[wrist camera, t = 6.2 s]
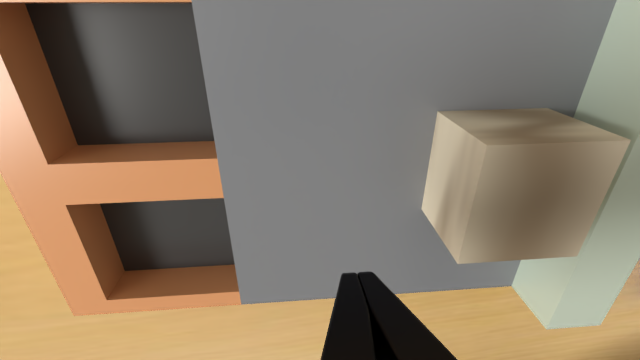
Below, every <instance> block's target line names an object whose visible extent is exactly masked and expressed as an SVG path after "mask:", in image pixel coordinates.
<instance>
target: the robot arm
mask: <svg viewBox="0 0 640 360" xmlns="http://www.w3.org/2000/svg"><path fill="white" fill-rule="evenodd" d="M321 360H457V359H456V358H455V357H454V356H453V355H452V354H451V353H450V351H449V350H448V349H447V348H446V347H445V346H444V345H443V344H442V343H441V342H440V341H439V340H438V339H437V338H436V337H435V336H434V335H433V334H432V333H431V332H430V331H429V330H428V329H427V328H426V327H425V325H424V324H423V323H422V322H421V321H420V320H419V319H418V318H417V317H416V316H415V315H414V314H413V313H412V312H411V311H410V310H409V309H408V308H407V307H406V306H405V305H404V304H403V303H402V302H401V300H400V299H399V298H398V297H397V296H396V295H395V294H394V293H393V292H392V291H391V290H390V289H389V288H388V287H387V286H386V285H385V284H384V283H383V282H382V281H381V280H380V279H379V278H378V277H377V276H376V274H375V273H373V272H371V271H366V272H359V273H355V272H351V273H342V275H341V278H340V282H339V286H338V290H337V294H336V299H335V303H334V307H333V311H332V315H331V319H330V323H329V328H328V332H327V336H326V340H325V344H324V348H323V352H322V356H321Z"/></svg>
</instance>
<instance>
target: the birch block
mask: <svg viewBox="0 0 640 360" xmlns="http://www.w3.org/2000/svg"><path fill="white" fill-rule="evenodd" d="M630 141H631V140H630V139H627V138H624V137H622V136H619V135H617V134H614V133H611V132H609V131H606V130H603V129H601V128H598V127H596V126H593V125H590V124H588V123H585V122H583V121H580V120H577V119H575V118H572V117H569V116H567V115H564V114H562V113H559V112H556V111H554V110H551V109H549V108H531V109H498V110H465V111H437V117H436V123H435V130H434V136H433V142H432V148H431V154H430V160H429V166H428V172H427V178H426V184H425V190H424V197H423V203H422V211H423V212H424V214H425V215H426V217H427V218H428V220H429V221H430V223H431V224H432V226H433V227H434V229H435V230H436V232H437V233H438V235H439V236H440V238H441V239H442V241H443V243H444V244H445V246H446V247H447V249H448V250H449V252H450V253H451V255H452V256H453V258H454V259H455V261H456V262H457V264H467V263H482V262H498V261H513V260H529V259H544V258H560V257H575V256H577V255H578V253H579V251H580V249H581V247H582V245H583V243H584V240H585V238H586V236H587V234H588V232H589V230H590V227H591V225H592V223H593V221H594V219H595V217H596V215H597V212H598V210H599V208H600V206H601V204H602V202H603V200H604V197H605V195H606V193H607V191H608V189H609V187H610V184H611V182H612V180H613V178H614V176H615V174H616V172H617V169H618V167H619V165H620V163H621V161H622V159H623V157H624V154H625V152H626V150H627V148H628V146H629V144H630Z"/></svg>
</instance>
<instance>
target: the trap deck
mask: <svg viewBox="0 0 640 360" xmlns="http://www.w3.org/2000/svg"><path fill="white" fill-rule="evenodd" d="M531 108H549V109H551V110H554V111H556V112H559V113H562V114H564V115H567V116H569V117H572V118H575V119H577V120H580V121H583V122H585V123H588V124H590V125H593V126H596V127H598V128H601V129H603V130H606V131H609V132H611V133H614V134H617V135H619V136H622V137H624V138H627V139H630V140H631V141H630V144H629V146H628V148H627V150H626V152H625V154H624V157H623V159H622V161H621V163H620V165H619V167H618V169H617V172H616V174H615V176H614V178H613V180H612V182H611V184H610V187H609V189H608V191H607V193H606V195H605V197H604V200H603V202H602V204H601V206H600V208H599V210H598V212H597V215H596V217H595V219H594V221H593V223H592V225H591V227H590V230H589V232H588V234H587V236H586V238H585V240H584V243H583V245H582V247H581V249H580V251H579V253H578V255H577V256H575V257H560V258H544V259H529V260H513V261H498V262H482V263H467V264H457V262H456V261H455V259H454V258H453V256H452V255H451V253H450V252H449V250H448V249H447V247H446V246H445V244H444V243H443V241H442V239H441V238H440V236H439V235H438V233H437V232H436V230H435V229H434V227H433V226H432V224H431V223H430V221H429V220H428V218H427V217H426V215H425V214H424V212H423V211H422V203H423V197H424V190H425V184H426V178H427V172H428V166H429V160H430V154H431V148H432V142H433V136H434V130H435V123H436V117H437V111H465V110H498V109H531ZM0 173H1V175H2V177H3V179H4V181H5V183H6V185H7V187H8V188H9V190H10V192H11V194H12V196H13V198H14V200H15V202H16V204H17V206H18V208H19V210H20V212H21V214H22V216H23V218H24V220H25V222H26V224H27V225H28V227H29V229H30V231H31V233H32V235H33V237H34V239H35V241H36V243H37V245H38V247H39V249H40V251H41V253H42V255H43V257H44V259H45V261H46V262H47V264H48V266H49V268H50V270H51V272H52V274H53V276H54V278H55V280H56V282H57V284H58V286H59V288H60V290H61V292H62V294H63V296H64V297H65V299H66V301H67V303H68V305H69V307H70V309H71V311H72V313H73V315H74V316H79V315H93V314H108V313H123V312H137V311H152V310H167V309H181V308H196V307H211V306H225V305H240V304H255V303H269V302H284V301H299V300H313V299H328V298H336V294H337V290H338V286H339V282H340V278H341V275H342V273H351V272H355V273H359V272H366V271H371V272H373V273H375V274H376V276H377V277H378V278H379V279H380V280H381V281H382V282H383V283H384V284H385V285H386V286H387V287H388V288H389V289H390V290H391V291H392V292H393V293H394V294H402V293H416V292H431V291H446V290H460V289H475V288H490V287H504V286H512V287H513V289H514V290H515V291H516V292H517V294H518V295H519V296H520V297H521V298H522V300H523V301H524V302H525V303H526V305H527V306H528V307H529V308H530V310H531V311H532V312H533V313H534V315H535V316H536V317H537V318H538V320H539V321H540V322H541V323H542V325H543V326H544V327H545V328H546V329H558V328H570V327H583V326H596V325H601V323H602V321H603V320H604V318H605V316H606V315H607V313H608V311H609V309H610V308H611V306H612V304H613V303H614V301H615V299H616V298H617V296H618V294H619V292H620V291H621V289H622V287H623V286H624V284H625V282H626V280H627V279H628V277H629V275H630V274H631V272H632V270H633V269H634V267H635V265H636V263H637V262H638V260H639V258H640V0H0Z"/></svg>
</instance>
